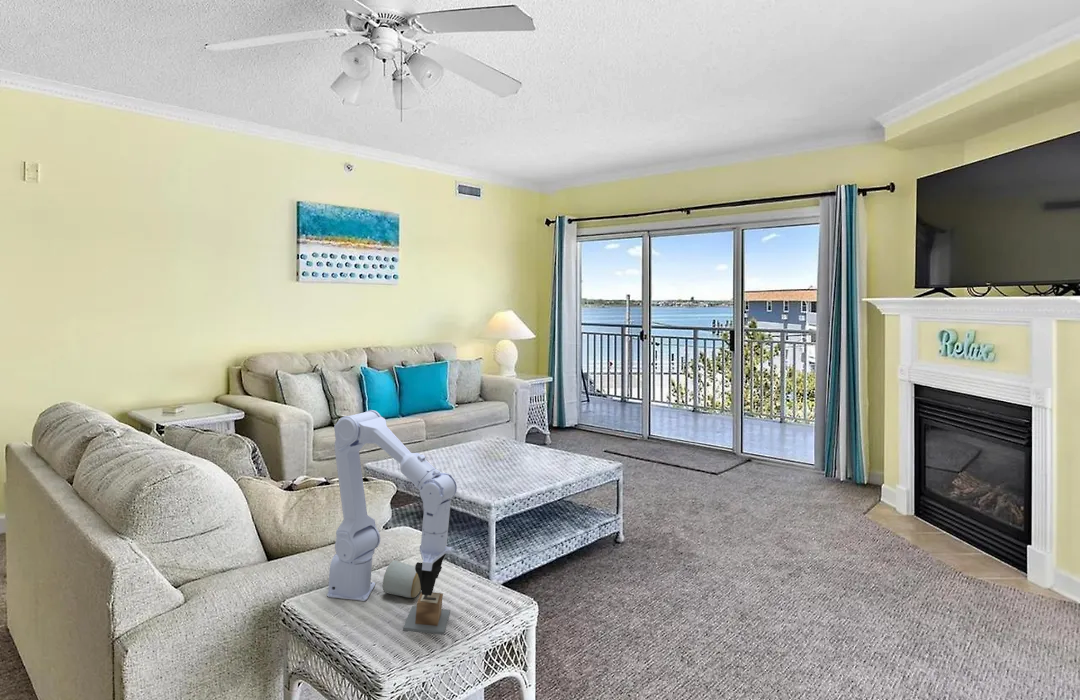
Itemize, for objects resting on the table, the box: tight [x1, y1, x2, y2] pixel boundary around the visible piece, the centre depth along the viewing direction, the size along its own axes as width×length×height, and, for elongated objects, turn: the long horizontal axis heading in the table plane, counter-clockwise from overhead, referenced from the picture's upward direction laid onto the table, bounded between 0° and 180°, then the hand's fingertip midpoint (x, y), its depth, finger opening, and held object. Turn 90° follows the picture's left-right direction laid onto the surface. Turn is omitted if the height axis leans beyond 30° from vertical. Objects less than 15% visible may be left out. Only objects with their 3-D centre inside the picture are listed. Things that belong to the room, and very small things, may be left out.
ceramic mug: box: [382, 559, 421, 599], centre depth 154 cm, size 11×8×8 cm
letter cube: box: [415, 592, 444, 626], centre depth 142 cm, size 5×5×5 cm
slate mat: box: [402, 605, 451, 636], centre depth 142 cm, size 9×9×1 cm
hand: (430, 585), depth 141 cm, fingers open, 7 cm apart
